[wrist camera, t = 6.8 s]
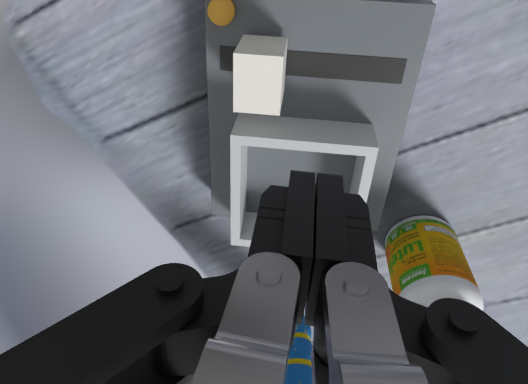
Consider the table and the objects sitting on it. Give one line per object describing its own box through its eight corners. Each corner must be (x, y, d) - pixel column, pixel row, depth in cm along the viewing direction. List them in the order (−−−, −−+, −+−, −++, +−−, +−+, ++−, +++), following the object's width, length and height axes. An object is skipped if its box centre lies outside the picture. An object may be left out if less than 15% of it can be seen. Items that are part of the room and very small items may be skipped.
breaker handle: (287, 37, 22) (283, 56, 20) (284, 90, 24) (279, 115, 21) (243, 34, 23) (233, 53, 20) (243, 87, 24) (233, 111, 21)
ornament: (261, 313, 40) (236, 494, 28) (277, 277, 37) (256, 463, 25) (312, 327, 40) (310, 512, 28) (332, 293, 37) (339, 483, 25)
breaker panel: (425, -4, 23) (451, 18, 19) (373, 210, 32) (383, 260, 27) (213, -18, 24) (189, 0, 19) (218, 195, 32) (202, 242, 28)
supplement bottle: (407, 203, 31) (439, 305, 23) (469, 228, 32) (520, 336, 24) (371, 250, 34) (387, 356, 26) (428, 273, 35) (461, 381, 27)
